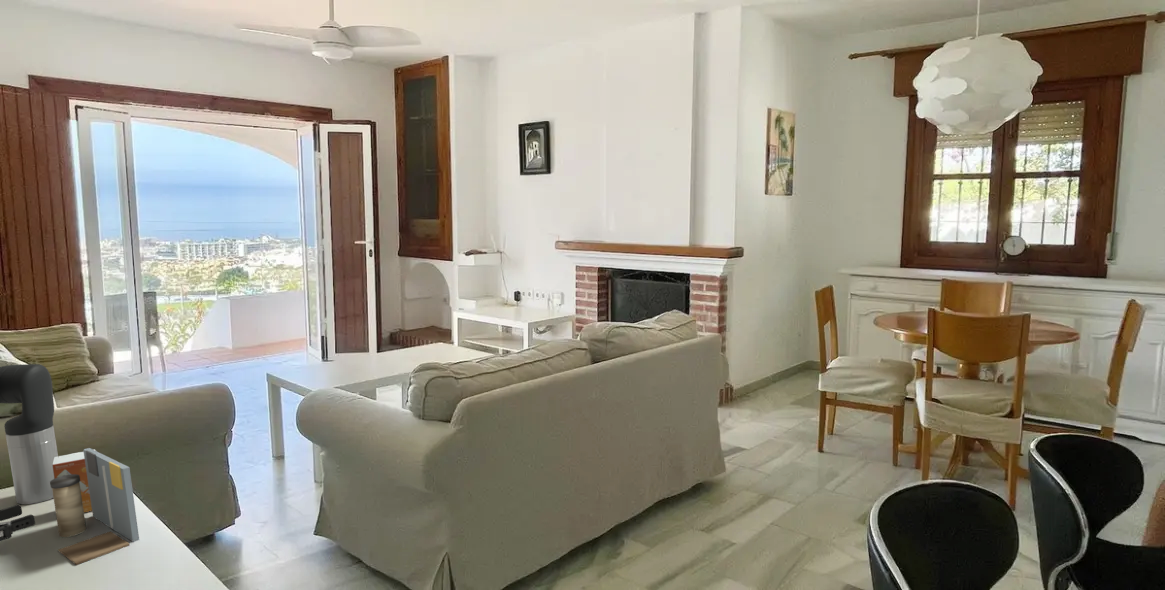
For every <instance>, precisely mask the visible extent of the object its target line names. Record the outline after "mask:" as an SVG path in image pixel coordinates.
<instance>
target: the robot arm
mask: <svg viewBox="0 0 1165 590" xmlns="http://www.w3.org/2000/svg"><path fill="white" fill-rule="evenodd" d="M53 392H54V391H53V381H52V377H51V373H50V372H49V370H48V368H47V367H46V366H44V365H42V364H40V363H38V364H37V363H35V364H32V363H29V364H28V363H27V364H9V365H3V366H0V404H21V414H19V415H17V416H14V417H12V418H10V419H7V420H6V422H5V423H4V433H5V439H6V445H7V451H8V458H9V462H10V463H9V464H10V468H11V469H10V470H11V475H12V481H13V482H12V483H13V489H14V495H15V501H16V503H17V504H15V505H13V506H9V507H5V508H1V509H0V542H2V541H5V540H9V539H11V538H12V535H13V534H14V533H15V532H19V531H21V530H24V529H27V528H29V527H33V526H35V525H36V520H35V515H33V514H28V515H24V516H22V514H23V509H22V506H21V505H31V504H36V503H41V502H45V501H48V500H52V499H54V498H53V491H52V488H51V486H50V481H51V480H53V479H54V474H53V460H54V457H58V456H59V454H58V447H57V441H56V435H55V428H54V421H53V420H54V414H55V401H54V393H53ZM20 504H21V505H20ZM19 516H21V517H19ZM16 517H18V518H16ZM13 518H16V519H13ZM10 519H13V520H10ZM6 520H7V521H6ZM8 520H9V521H8Z"/></svg>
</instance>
